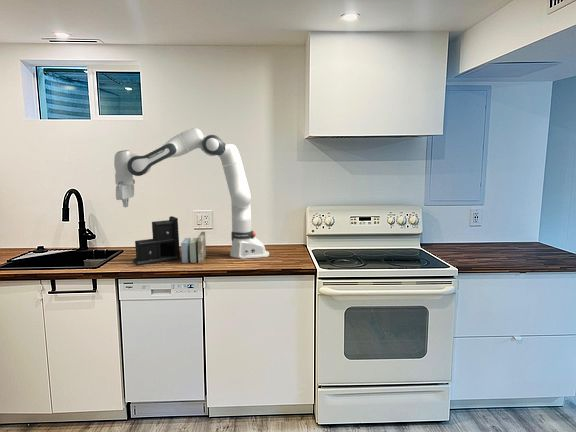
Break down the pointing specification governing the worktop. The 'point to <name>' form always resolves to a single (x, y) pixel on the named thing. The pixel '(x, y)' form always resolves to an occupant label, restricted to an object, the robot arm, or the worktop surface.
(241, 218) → the robot arm
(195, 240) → the book
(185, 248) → the book
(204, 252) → the end board
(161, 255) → the black stepped block
